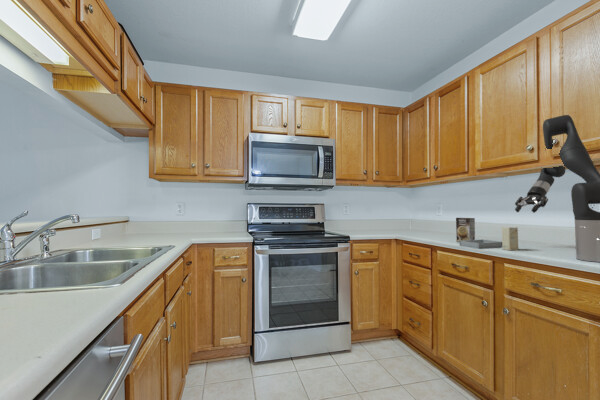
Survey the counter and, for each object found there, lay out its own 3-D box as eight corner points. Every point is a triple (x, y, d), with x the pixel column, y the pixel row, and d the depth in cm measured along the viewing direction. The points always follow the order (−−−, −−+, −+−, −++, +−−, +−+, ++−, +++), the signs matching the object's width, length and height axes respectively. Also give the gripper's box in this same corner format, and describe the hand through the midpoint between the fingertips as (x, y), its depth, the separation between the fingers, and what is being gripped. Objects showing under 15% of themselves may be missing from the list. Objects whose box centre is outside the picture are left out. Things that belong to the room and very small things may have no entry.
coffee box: (456, 241, 186) (455, 217, 186) (462, 241, 189) (461, 217, 189) (469, 243, 178) (468, 218, 178) (475, 242, 181) (475, 217, 181)
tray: (503, 246, 160) (503, 241, 160) (478, 248, 155) (478, 243, 155) (482, 244, 172) (482, 239, 172) (459, 245, 167) (459, 240, 167)
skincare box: (510, 250, 147) (509, 227, 147) (502, 249, 151) (501, 227, 152) (519, 249, 149) (518, 227, 149) (510, 248, 153) (509, 226, 153)
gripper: (522, 186, 163) (508, 206, 160) (549, 184, 150) (535, 206, 146) (528, 195, 165) (515, 215, 161) (557, 194, 151) (542, 216, 148)
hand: (524, 211), depth 154 cm, fingers open, 8 cm apart
